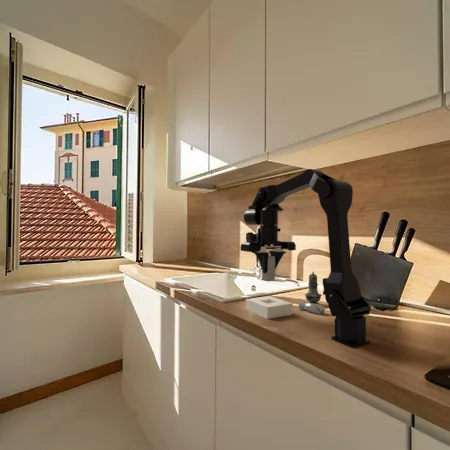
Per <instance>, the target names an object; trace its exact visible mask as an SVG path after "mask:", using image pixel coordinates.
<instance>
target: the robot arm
mask: <svg viewBox="0 0 450 450" xmlns="http://www.w3.org/2000/svg"><path fill="white" fill-rule="evenodd" d="M309 188H310V189H311V190H312V191H313V192H314V193H316V194H317V195H318V201H319V205H320V207H321V209H322V210H323V211H324V213H325V214H326V220H327V221H326V222H327V235H328V236H327V237H328V250H329V252H328V253H329V266H330V273H329V274H328V277H325V278H322V287H323V291H322V296H324V298H325V301H326V303H327V305H328V309H329V312H330V315H331V316H332V317H335V318H334V335H332V336H330V337H331V340H334V341H337V342H339V343H341V344H344V345H347V346H349V347H351V348H355V347H359V346H362V345H366V344H369V343H371V339H368V338H367V317H366V316H368V315H370V313H371V310H372V306H371V305H370V303H368V301H367V300H366V299H365V297H364V296H363V295H362V291H361V288H360V284H359V280H358V279H357V278H356V276H355V273H353V269H352V258H351V246H350V235H349V234H350V233H349V222H348V219H349V218H348V213H349V211H350V208H351V206H352V204H353V193H354V189H353V186H352V185H351V183H349V182H347V181H345V180H338V179H336V178H334V177H332V176H329V175H328V174H326V173H324V172H322V171H321V170H318V169H312V168H308V169H305V170H304V171H303V172H301V173H299V174H297V175H295V176H293V177H291V178H287V179H285V180H284V181H282V182H279V183H277V184H268V185H263V186H260V187H259V189H258V191H257V193H256V195H255V197H254V199H253V201H252V204H251V205H248V209H247V210H246V211H244V214H243V220H244V223H245V224H247V225H249V226H260V227H257V233H253V231H252V232H250V231H249V232H247V233H245V241H242V243H241V245H240V251H241V252H247V253H248V252H249V253H251V254H254V255H255V256H256V257H257V260H258V262H259V265H260V267H261V272H262V271H263V273H266V270H267V264H268V256H269V255H270V256H275V270H277V267H278V265H279V264H280V262H281V259H282V258H283V256H284V254H287V251H285V250H288V251H296V250H297V245H296V242H295V241H288V240H286V241H285V240H284V241H282V240H281V241H280V240H279V232H281V228H279V226H278V225H279V212H283V210H284V208H283V207H282V206H280V205H279V204H280V203H282V202H283V201H285V199H286V198H287V197H288V196H291V195H294V194H296V193H299V192H301V191H304V190H305V189H309ZM267 250H268V252H267Z"/></svg>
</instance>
